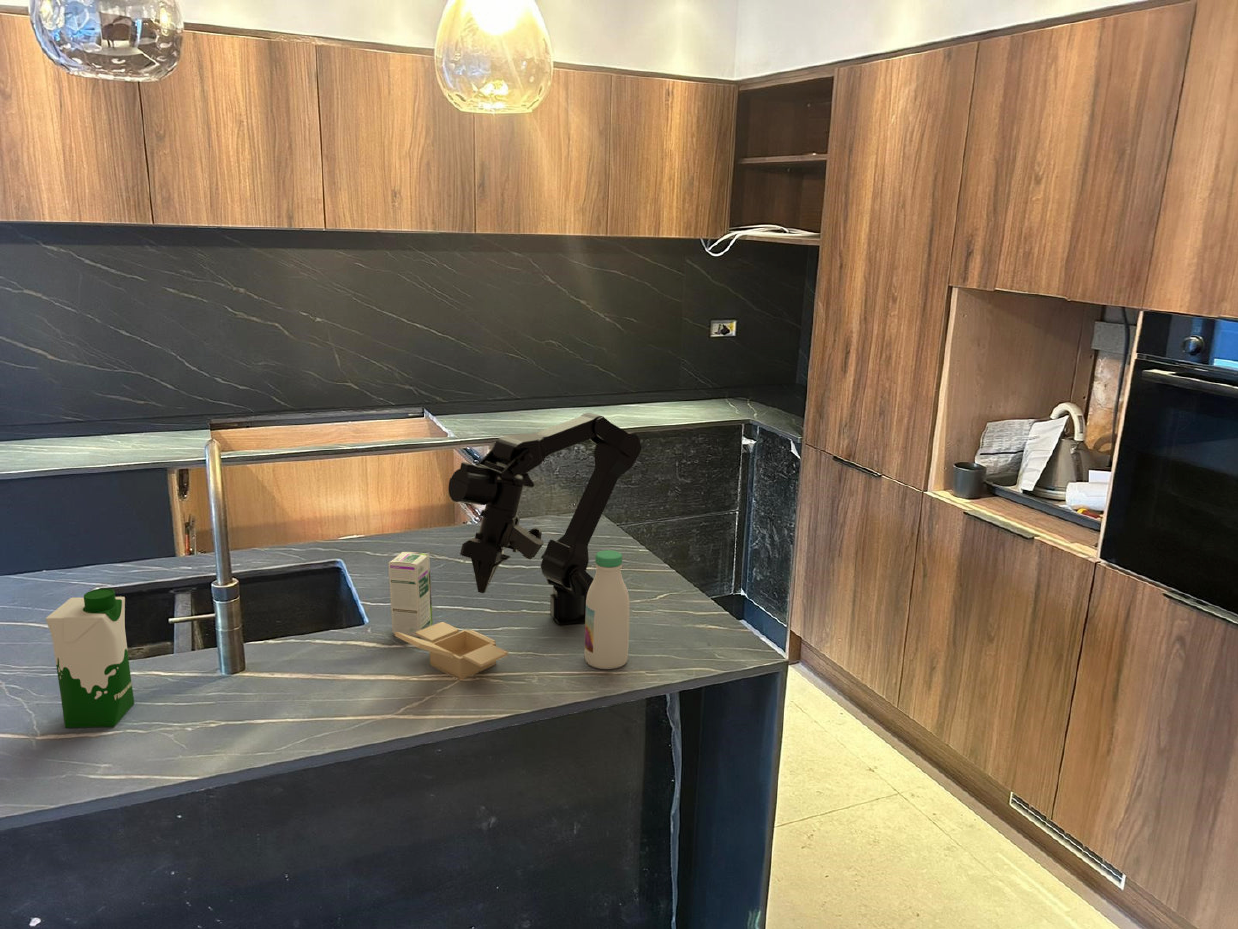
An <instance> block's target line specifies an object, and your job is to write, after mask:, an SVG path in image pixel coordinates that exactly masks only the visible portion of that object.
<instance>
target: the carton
mask: <svg viewBox="0 0 1238 929" xmlns="http://www.w3.org/2000/svg"><path fill="white" fill-rule="evenodd" d="M415 635H417V636H419V637H418V638H420V639H422V640H425V641H428V642H431V643H433V644H435V645H437V646H439V647H441V648H443V649H445V650H447V651H449V652H451V653H453V654H454V656H453V658H451V657H448V656H444V655H441V654H438V653H434V652H431V651H429V665H430V666H431V665H432V666H431V667H433V668H435V669H437V670H439V671H440V672H443V673H445V674H447V675H448V676H450V677H452V676H453V678H454V677H455V679H456V678H457V679H456V680H459V681H462V679H463V680H464V678H465V679H466V677H467V678H469V677H471V676H473V675H475V673H476V674H478V673H480V672H482V671H484V670H486V669H489V668H490V667H493V666H495V665H497V661H498V660H500V659H503V658H505V657H507V656H509V651H507V650H505V649H502V648H501V647H498V646H497V643H496V640H495V639H493V638H491V637H488V636H486V635H484V634H481V633H480V632H477V631H475V630H473V629H469V630H468V629H466V628H464V629H462V630H460V629H459V628H457V627H455V626H453V625H450V624H448V623H446V622H444V621H440V622H438V623H435V624H432V625H431V626H430V627H427V628H425V629H422V630H420V631H417V632H415ZM479 671H480V672H479ZM468 676H469V677H468Z"/></svg>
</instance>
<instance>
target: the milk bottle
mask: <svg viewBox="0 0 1238 929" xmlns="http://www.w3.org/2000/svg"><path fill="white" fill-rule="evenodd" d="M622 564H623V554H622V553H621V552H620V551H618V550H617V551H616V550H609V549H607V550H600V551H598V552H596V554H595V568H596V571H595V575H594V576H593V582H592V584H591V585H590V588H589V590H588V593H587V598H586V613H585V622H584V660H585V662H586V664H588V666H590V667H592V668H596V669H600V670H612V669H613V670H615V669H618V668H621V667H623V666H624V665H625V664H626V663H627V662H628V660H629V642H630V640H629V639H630V595H629V591H628V588H627V585H626V584H625V581H624V580H623V576H622V572H621V571H622V570H621V568H622V567H623V565H622Z"/></svg>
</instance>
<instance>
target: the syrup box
mask: <svg viewBox="0 0 1238 929" xmlns="http://www.w3.org/2000/svg"><path fill="white" fill-rule="evenodd" d="M430 564H431V561H430V554H428V553H423V552H415V551H414V552H413V551H401V552H400V554H398V555H397V556H395V557H394V558H393V559H392V560H390V561H389V562H388V564H387V565H388V580H389V595H390V614H391V627H392V628H391V629H392V630H391V631H392V632H391V633H392V634H393V635H395V633H396V632H399V633H402V634H405V635H409V636H412V637H415V638H420V637H419V636H417V635H415V632H417V631H420V630H422V629H425V628H427V627H430V626H432V625H434V623H433V621H434V620H433V606H432V604H433V602H432V601H433V600H432V583H431V565H430Z"/></svg>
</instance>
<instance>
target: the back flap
mask: <svg viewBox="0 0 1238 929" xmlns="http://www.w3.org/2000/svg"><path fill="white" fill-rule="evenodd" d="M393 635H394V636H395V637H396V638H398V639H399V640H402V641H404V642H406V643H408V644H410V645H412V646H414V647H415V648H418V649H421V650H425V651H427V652H430V651H431V652H434V653H438V654H441V655H444V656H448V657H451V658H453V656H454V654H453V653H451V652H449V651H447V650H445V649H443V648H441V647H439V646H437V645H435V644H433V643H431V642H429V641H427V640H425V639H423V638H419V637H413V636H409V635H405V634H402V633H399V632H396V633H395V634H393Z"/></svg>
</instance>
